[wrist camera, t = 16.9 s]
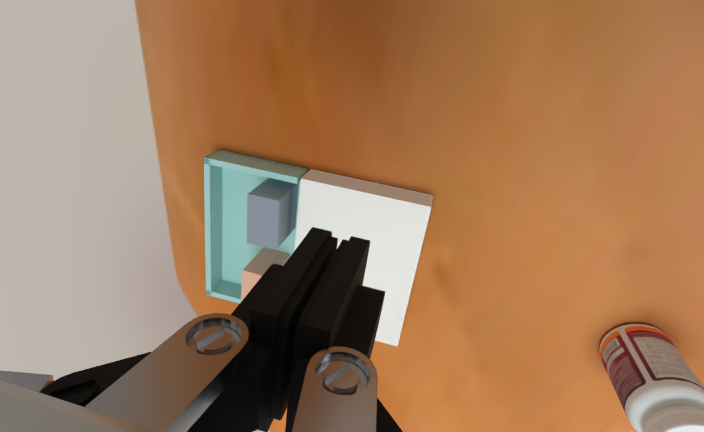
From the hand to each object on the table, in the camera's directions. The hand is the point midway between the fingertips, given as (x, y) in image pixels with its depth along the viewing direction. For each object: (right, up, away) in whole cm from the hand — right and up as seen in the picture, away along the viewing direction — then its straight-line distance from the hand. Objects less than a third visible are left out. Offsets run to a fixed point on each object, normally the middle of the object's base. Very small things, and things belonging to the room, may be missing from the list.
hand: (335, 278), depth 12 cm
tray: (-9, 0, +33) cm, 34 cm away
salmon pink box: (-7, -5, +31) cm, 32 cm away
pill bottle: (+28, -11, +28) cm, 41 cm away
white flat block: (+1, -2, +31) cm, 31 cm away
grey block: (-6, +2, +28) cm, 28 cm away
